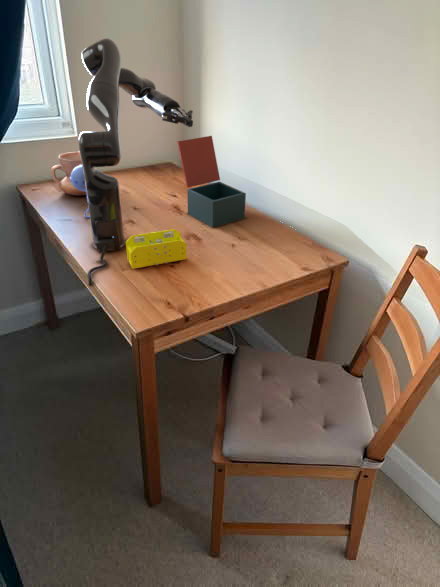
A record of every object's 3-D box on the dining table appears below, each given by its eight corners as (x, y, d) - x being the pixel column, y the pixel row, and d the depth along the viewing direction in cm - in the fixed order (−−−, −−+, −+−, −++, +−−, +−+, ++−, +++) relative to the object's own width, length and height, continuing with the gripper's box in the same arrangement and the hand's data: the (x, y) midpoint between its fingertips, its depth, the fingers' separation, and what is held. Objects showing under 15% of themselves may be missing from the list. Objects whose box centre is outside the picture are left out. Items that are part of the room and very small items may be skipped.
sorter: (244, 218, 159) (245, 193, 154) (212, 227, 151) (213, 201, 146) (218, 205, 168) (219, 181, 163) (187, 213, 161) (187, 189, 156)
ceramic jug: (99, 183, 185) (95, 148, 177) (106, 195, 174) (101, 158, 166) (53, 188, 179) (46, 152, 171) (56, 201, 168) (50, 163, 160)
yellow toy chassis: (180, 253, 135) (179, 227, 131) (187, 261, 131) (186, 235, 126) (127, 262, 130) (124, 235, 125) (132, 271, 125) (129, 244, 121)
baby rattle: (76, 223, 151) (68, 170, 142) (76, 214, 158) (68, 162, 149) (103, 221, 153) (96, 168, 144) (101, 212, 160) (95, 160, 151)
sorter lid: (211, 135, 158) (210, 136, 159) (178, 141, 151) (176, 141, 152) (220, 180, 163) (218, 180, 163) (188, 187, 155) (186, 187, 156)
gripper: (149, 97, 160) (175, 114, 150) (181, 95, 167) (208, 111, 157) (148, 119, 165) (173, 136, 154) (179, 116, 172) (205, 133, 161)
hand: (190, 124), depth 156 cm, fingers closed
